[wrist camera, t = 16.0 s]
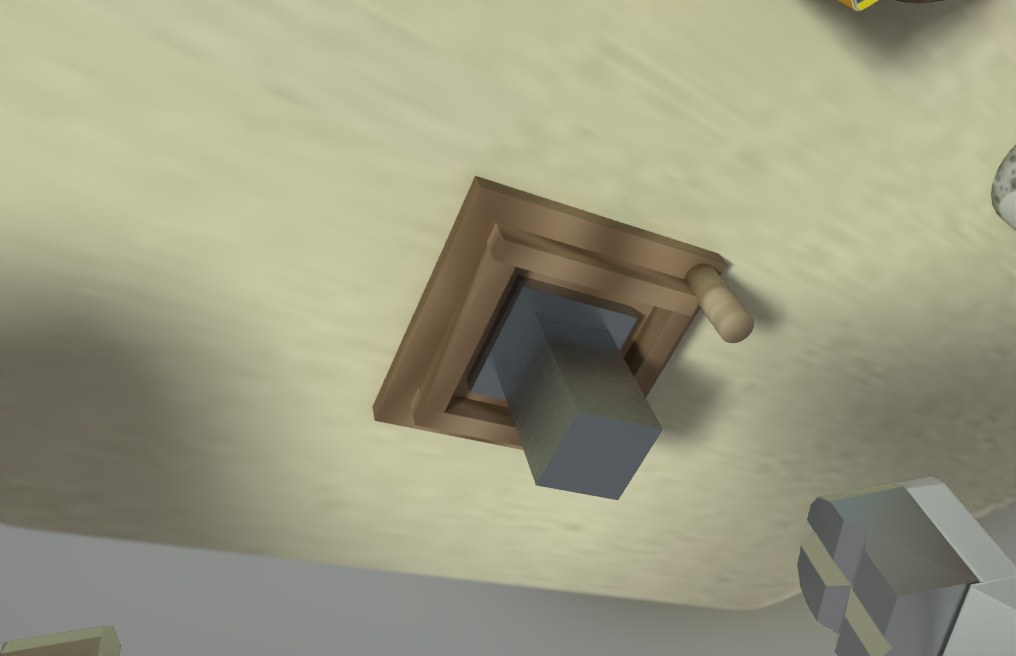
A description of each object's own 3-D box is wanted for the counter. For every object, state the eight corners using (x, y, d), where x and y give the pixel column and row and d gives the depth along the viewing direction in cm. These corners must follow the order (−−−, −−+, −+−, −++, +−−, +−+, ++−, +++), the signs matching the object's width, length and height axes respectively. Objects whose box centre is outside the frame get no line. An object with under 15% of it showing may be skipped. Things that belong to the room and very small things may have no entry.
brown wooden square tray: (372, 407, 54) (385, 482, 49) (475, 176, 47) (502, 236, 42) (598, 453, 60) (630, 524, 55) (718, 253, 53) (766, 314, 48)
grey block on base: (466, 379, 53) (503, 499, 45) (517, 274, 50) (566, 385, 42) (575, 403, 55) (627, 520, 48) (630, 306, 52) (695, 415, 45)
